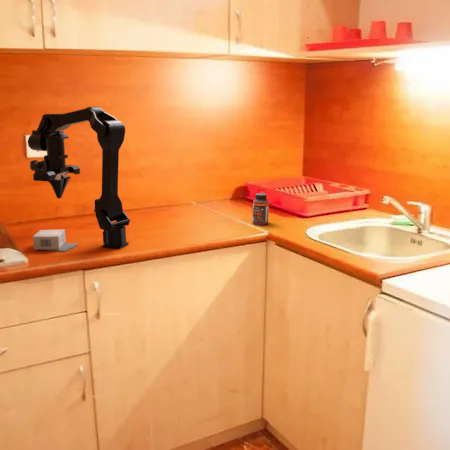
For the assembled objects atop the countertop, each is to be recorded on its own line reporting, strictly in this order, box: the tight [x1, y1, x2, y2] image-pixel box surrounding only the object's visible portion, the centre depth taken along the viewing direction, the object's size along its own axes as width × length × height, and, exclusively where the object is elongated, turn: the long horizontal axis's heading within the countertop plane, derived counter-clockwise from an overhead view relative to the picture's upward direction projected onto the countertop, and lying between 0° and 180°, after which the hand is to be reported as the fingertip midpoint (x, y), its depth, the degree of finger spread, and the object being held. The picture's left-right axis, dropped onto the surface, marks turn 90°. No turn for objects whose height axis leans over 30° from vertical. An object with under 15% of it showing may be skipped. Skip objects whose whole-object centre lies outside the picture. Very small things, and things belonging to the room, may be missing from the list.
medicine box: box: [32, 229, 66, 251], centre depth 171 cm, size 8×4×9 cm
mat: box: [49, 242, 80, 253], centre depth 172 cm, size 9×8×1 cm
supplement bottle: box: [252, 192, 270, 226], centre depth 202 cm, size 6×6×11 cm
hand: (59, 198), depth 183 cm, fingers closed
